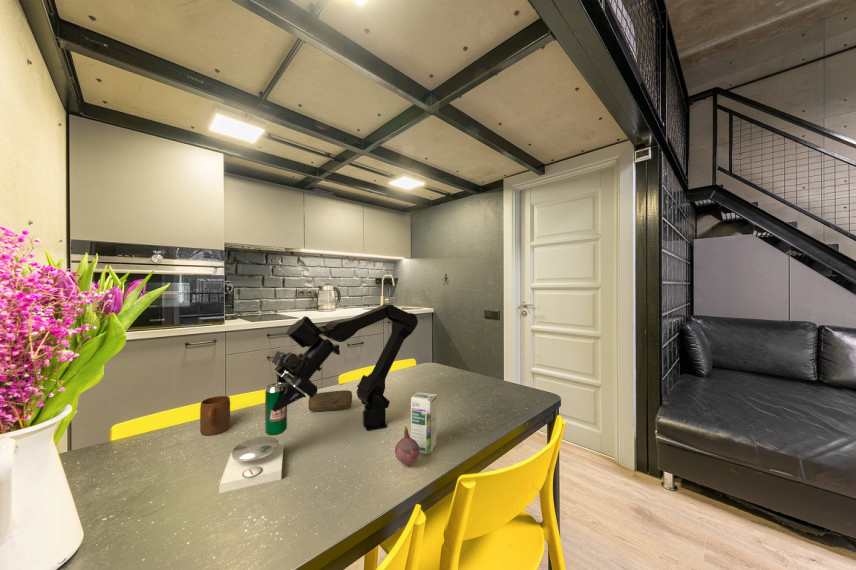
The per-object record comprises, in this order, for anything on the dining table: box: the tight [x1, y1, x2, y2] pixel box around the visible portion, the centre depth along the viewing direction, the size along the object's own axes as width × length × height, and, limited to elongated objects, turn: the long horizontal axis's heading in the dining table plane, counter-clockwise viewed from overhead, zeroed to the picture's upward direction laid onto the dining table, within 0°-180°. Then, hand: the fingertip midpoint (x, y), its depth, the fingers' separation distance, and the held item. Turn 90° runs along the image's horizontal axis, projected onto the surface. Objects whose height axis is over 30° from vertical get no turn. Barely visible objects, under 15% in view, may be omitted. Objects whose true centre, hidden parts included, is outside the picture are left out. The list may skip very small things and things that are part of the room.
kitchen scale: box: [218, 441, 284, 494], centre depth 74 cm, size 12×14×2 cm
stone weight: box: [307, 389, 353, 412], centre depth 110 cm, size 15×7×7 cm, turn 106°
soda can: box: [264, 382, 288, 436], centre depth 79 cm, size 5×5×12 cm
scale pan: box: [231, 436, 279, 461], centre depth 75 cm, size 10×10×2 cm
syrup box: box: [410, 391, 437, 456], centre depth 84 cm, size 6×6×14 cm
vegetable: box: [394, 425, 420, 467], centre depth 76 cm, size 6×6×10 cm
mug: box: [199, 395, 231, 436], centre depth 92 cm, size 12×8×9 cm, turn 25°
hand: (270, 407), depth 78 cm, fingers closed on soda can, 5 cm apart
